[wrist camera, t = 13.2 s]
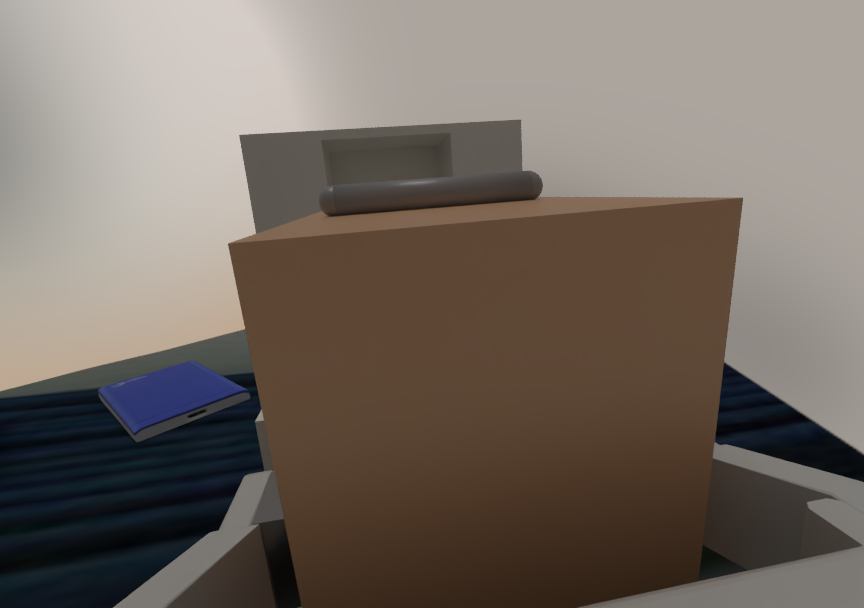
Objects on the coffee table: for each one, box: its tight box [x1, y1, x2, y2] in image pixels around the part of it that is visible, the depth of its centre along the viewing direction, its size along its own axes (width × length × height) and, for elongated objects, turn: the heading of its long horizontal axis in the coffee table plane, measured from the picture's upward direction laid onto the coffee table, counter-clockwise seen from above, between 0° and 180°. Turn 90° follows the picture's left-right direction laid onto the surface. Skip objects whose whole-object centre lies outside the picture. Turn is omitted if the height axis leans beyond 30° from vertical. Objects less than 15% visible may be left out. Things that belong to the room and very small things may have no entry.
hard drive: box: [98, 361, 250, 442], centre depth 36 cm, size 2×8×12 cm
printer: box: [240, 120, 522, 471], centre depth 30 cm, size 16×20×20 cm
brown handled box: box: [228, 171, 743, 608], centre depth 11 cm, size 6×10×13 cm, turn 9°
